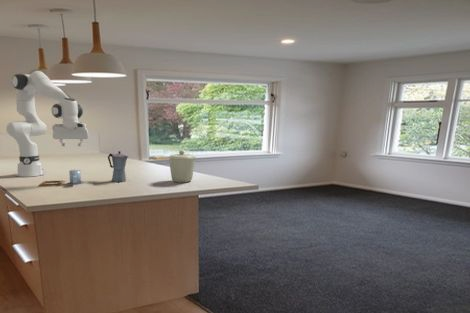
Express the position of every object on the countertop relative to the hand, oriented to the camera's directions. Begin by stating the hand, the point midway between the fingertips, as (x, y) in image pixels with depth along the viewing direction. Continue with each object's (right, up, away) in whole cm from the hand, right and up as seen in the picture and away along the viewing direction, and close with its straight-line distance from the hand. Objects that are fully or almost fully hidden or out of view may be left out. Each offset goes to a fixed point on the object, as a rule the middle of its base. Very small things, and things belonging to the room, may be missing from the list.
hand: (71, 146), depth 206 cm
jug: (+5, -24, -4) cm, 24 cm away
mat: (+3, -24, 0) cm, 24 cm away
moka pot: (+25, -23, +12) cm, 36 cm away
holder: (-11, -24, -4) cm, 27 cm away
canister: (+68, -23, +13) cm, 73 cm away
